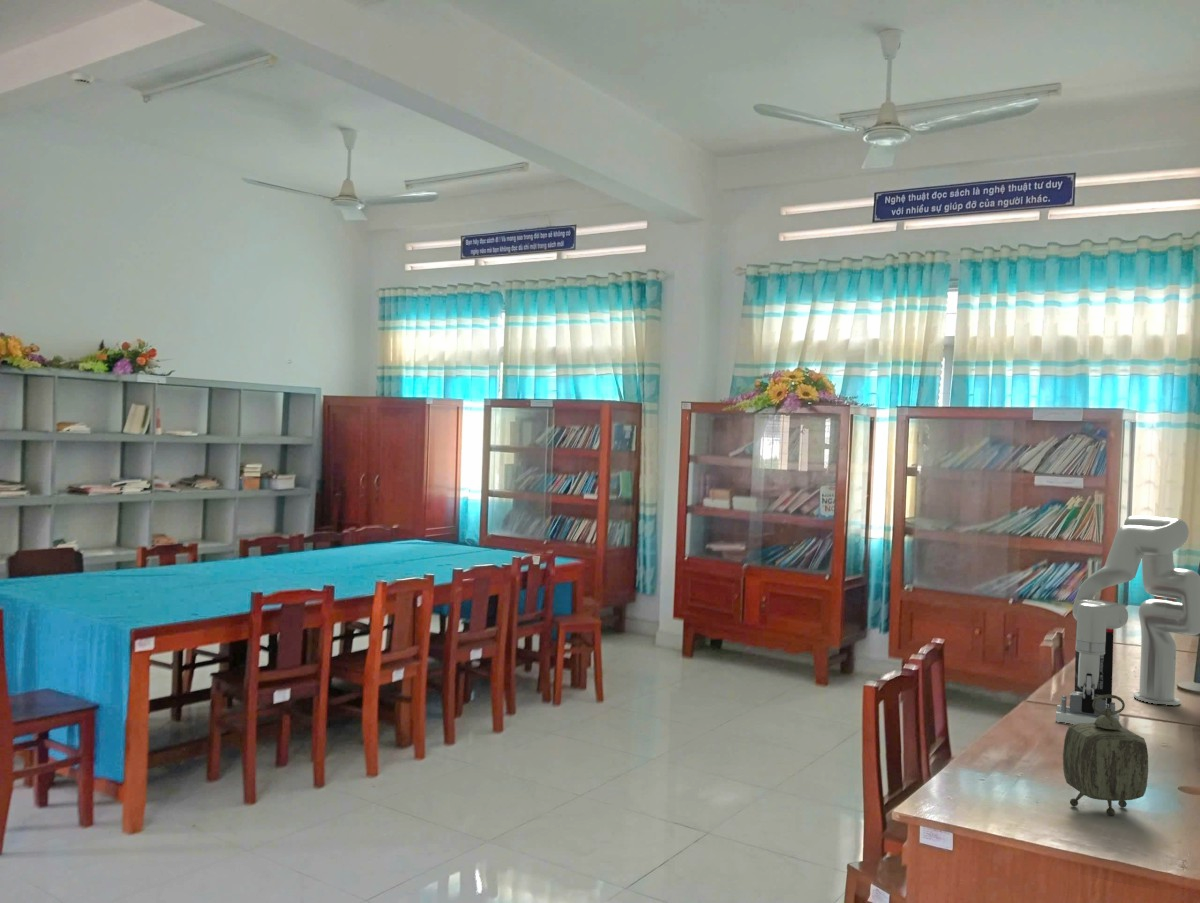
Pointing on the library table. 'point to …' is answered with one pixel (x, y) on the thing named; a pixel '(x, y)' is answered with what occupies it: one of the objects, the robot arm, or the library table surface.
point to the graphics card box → (1101, 669)
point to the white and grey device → (1074, 718)
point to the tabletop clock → (1105, 759)
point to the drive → (1077, 704)
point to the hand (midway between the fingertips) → (1087, 709)
